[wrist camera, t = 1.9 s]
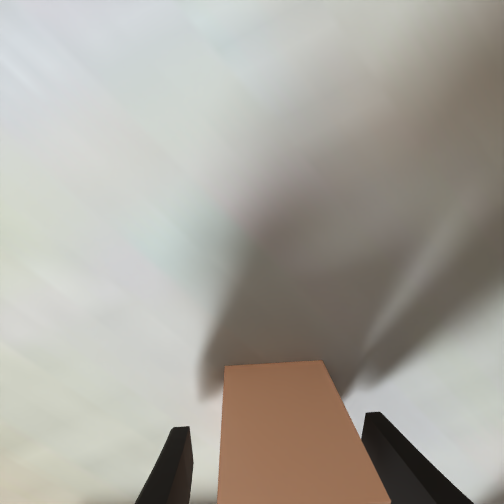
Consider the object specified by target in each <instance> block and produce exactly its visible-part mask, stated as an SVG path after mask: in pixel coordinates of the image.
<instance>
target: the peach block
mask: <svg viewBox="0 0 504 504" xmlns="http://www.w3.org/2000/svg"><path fill="white" fill-rule="evenodd" d="M217 504H391V500H390V498H389V496H388V494H387V492H386V490H385V488H384V486H383V484H382V481H381V479H380V477H379V475H378V473H377V471H376V469H375V467H374V465H373V463H372V461H371V459H370V457H369V455H368V453H367V451H366V449H365V447H364V445H363V443H362V441H361V439H360V437H359V434H358V432H357V430H356V428H355V426H354V424H353V422H352V420H351V418H350V416H349V414H348V412H347V410H346V408H345V406H344V404H343V402H342V400H341V398H340V396H339V394H338V392H337V390H336V388H335V385H334V383H333V381H332V379H331V377H330V375H329V373H328V371H327V369H326V367H325V365H324V363H323V361H322V360H316V361H299V362H282V363H265V364H248V365H231V366H225V369H224V387H223V405H222V423H221V441H220V459H219V477H218V495H217Z"/></svg>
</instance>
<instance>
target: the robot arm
mask: <svg viewBox="0 0 504 504" xmlns="http://www.w3.org/2000/svg"><path fill="white" fill-rule="evenodd" d="M361 441H362V443H363V445H364V447H365V449H366V451H367V453H368V455H369V457H370V459H371V461H372V463H373V465H374V467H375V469H376V471H377V473H378V475H379V477H380V479H381V481H382V484H383V486H384V488H385V490H386V492H387V494H388V496H389V498H390V500H391V504H474V503H473V502H472V501H471V500H469V499H468V498H467V497H466V496H465V495H464V494H463V493H462V492H461V491H460V490H459V489H457V488H456V487H455V486H454V485H453V484H452V483H451V482H450V481H449V480H448V479H447V478H446V477H445V476H444V475H443V474H442V473H441V472H440V471H439V470H438V469H437V468H436V467H435V466H433V465H432V464H431V463H430V462H429V461H428V460H427V459H426V458H425V457H424V456H423V455H422V454H421V453H420V452H419V451H418V450H417V449H416V448H415V447H414V446H413V445H412V444H411V443H410V442H409V441H408V440H407V439H406V438H405V437H404V436H403V435H402V434H401V433H400V431H399V430H398V429H397V428H396V427H395V426H394V425H393V424H392V423H391V422H390V421H389V420H388V419H387V418H386V417H385V416H384V415H383V414H382V413H381V412H369V413H366V415H365V420H364V426H363V432H362V438H361ZM193 463H194V462H193V454H192V445H191V436H190V427H189V426H186V427H174V428H173V429H171V431H170V434H169V436H168V438H167V440H166V443H165V445H164V447H163V449H162V451H161V453H160V456H159V458H158V460H157V462H156V464H155V466H154V468H153V470H152V472H151V474H150V476H149V477H148V479H147V481H146V483H145V485H144V487H143V489H142V491H141V493H140V494H139V496H138V498H137V500H136V502H135V504H189V500H190V491H191V482H192V473H193Z"/></svg>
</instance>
